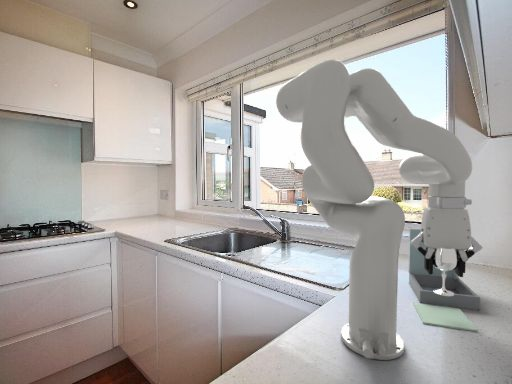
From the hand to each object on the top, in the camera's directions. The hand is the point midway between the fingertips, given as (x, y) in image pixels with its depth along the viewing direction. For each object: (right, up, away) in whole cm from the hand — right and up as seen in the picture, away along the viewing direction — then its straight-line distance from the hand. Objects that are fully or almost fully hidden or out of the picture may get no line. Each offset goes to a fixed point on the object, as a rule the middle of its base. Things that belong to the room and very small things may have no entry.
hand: (444, 273), depth 69 cm
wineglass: (0, -5, 0) cm, 5 cm away
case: (+8, -11, +13) cm, 19 cm away
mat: (0, -11, 0) cm, 11 cm away
